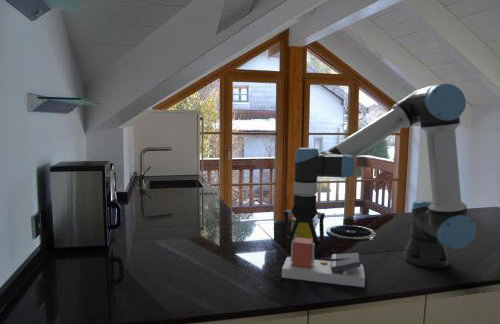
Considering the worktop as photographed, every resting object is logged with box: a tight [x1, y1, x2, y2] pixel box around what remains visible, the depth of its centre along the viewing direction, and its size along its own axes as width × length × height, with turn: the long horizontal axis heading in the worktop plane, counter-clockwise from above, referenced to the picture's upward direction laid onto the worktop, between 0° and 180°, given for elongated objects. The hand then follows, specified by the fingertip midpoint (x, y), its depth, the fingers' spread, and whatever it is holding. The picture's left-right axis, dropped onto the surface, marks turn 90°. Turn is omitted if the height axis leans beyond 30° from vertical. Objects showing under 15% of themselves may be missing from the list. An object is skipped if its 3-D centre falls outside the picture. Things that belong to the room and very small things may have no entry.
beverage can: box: [290, 216, 315, 241], centre depth 156 cm, size 9×9×12 cm
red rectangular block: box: [292, 237, 314, 268], centre depth 128 cm, size 6×6×8 cm
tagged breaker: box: [330, 252, 360, 262], centre depth 128 cm, size 9×5×2 cm, turn 76°
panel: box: [281, 256, 366, 288], centre depth 127 cm, size 26×12×8 cm, turn 77°
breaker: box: [331, 256, 361, 272], centre depth 122 cm, size 9×5×2 cm, turn 76°
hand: (302, 261), depth 128 cm, fingers open, 6 cm apart
